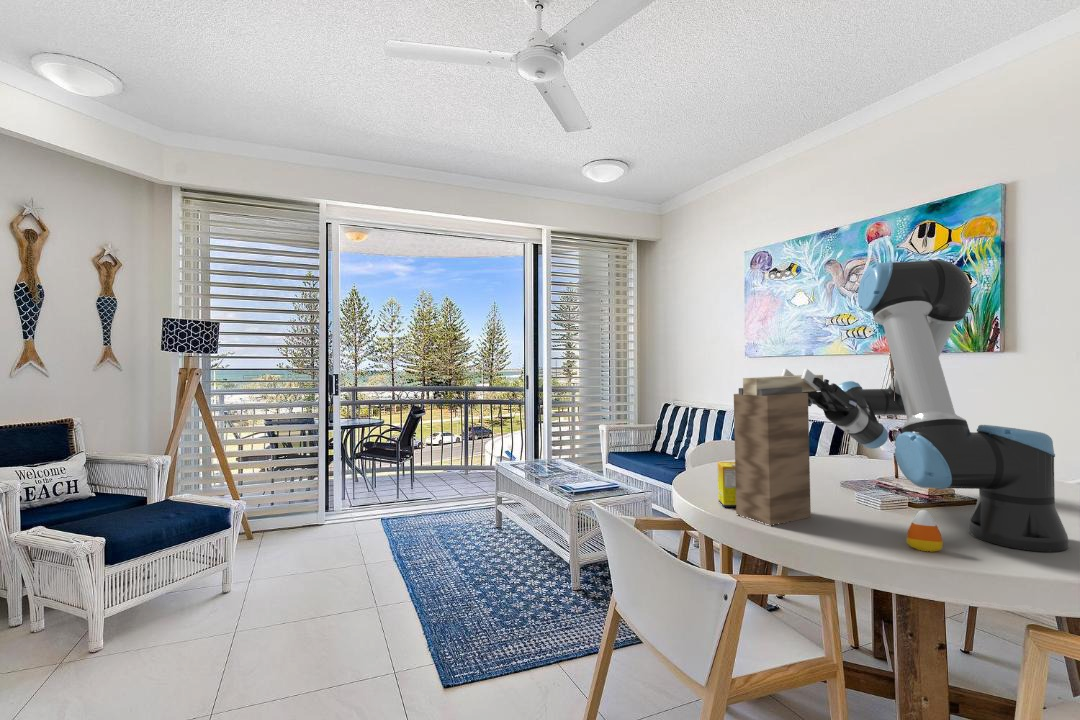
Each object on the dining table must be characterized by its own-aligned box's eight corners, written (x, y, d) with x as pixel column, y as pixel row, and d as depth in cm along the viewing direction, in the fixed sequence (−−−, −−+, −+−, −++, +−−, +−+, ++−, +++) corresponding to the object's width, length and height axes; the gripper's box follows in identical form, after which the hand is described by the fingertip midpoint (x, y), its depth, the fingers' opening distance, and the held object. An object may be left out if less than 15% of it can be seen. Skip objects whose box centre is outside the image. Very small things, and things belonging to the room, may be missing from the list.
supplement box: (740, 501, 141) (739, 461, 141) (747, 508, 135) (746, 466, 135) (717, 501, 142) (717, 461, 142) (723, 508, 136) (722, 466, 136)
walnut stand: (810, 516, 127) (807, 386, 127) (770, 526, 120) (767, 389, 120) (775, 506, 136) (772, 385, 136) (736, 515, 129) (733, 387, 129)
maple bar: (823, 390, 134) (823, 374, 134) (756, 395, 123) (756, 378, 123) (809, 389, 137) (808, 374, 137) (743, 394, 127) (742, 378, 127)
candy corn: (941, 549, 104) (940, 509, 104) (945, 554, 102) (944, 513, 102) (905, 545, 107) (904, 506, 107) (907, 550, 104) (907, 510, 104)
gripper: (875, 430, 132) (822, 388, 123) (809, 423, 148) (758, 385, 139) (884, 403, 133) (832, 360, 124) (818, 399, 150) (767, 360, 141)
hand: (793, 373), depth 132 cm, fingers open, 5 cm apart
